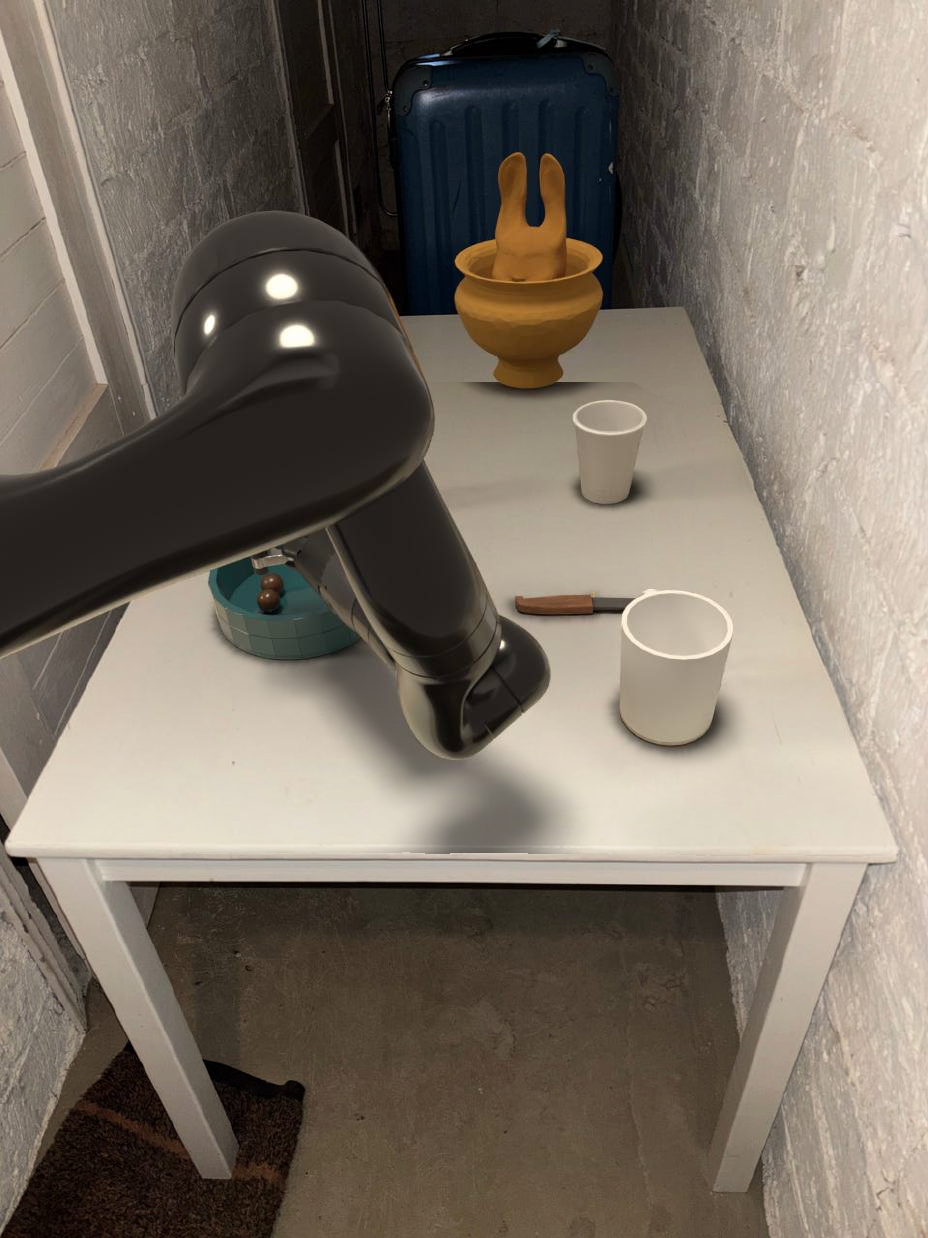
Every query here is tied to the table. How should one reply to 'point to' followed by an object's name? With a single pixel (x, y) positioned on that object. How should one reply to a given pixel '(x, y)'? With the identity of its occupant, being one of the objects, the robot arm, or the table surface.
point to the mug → (672, 664)
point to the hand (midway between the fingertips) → (278, 492)
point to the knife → (569, 604)
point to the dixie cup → (607, 448)
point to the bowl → (275, 614)
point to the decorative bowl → (529, 282)
